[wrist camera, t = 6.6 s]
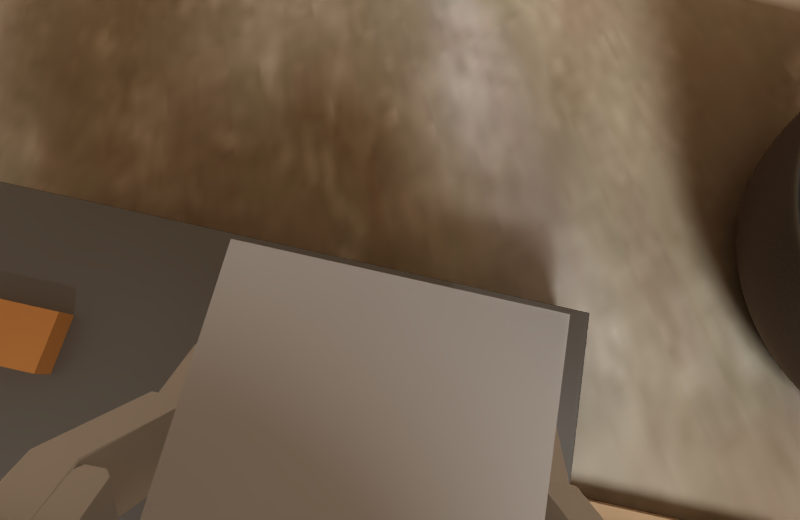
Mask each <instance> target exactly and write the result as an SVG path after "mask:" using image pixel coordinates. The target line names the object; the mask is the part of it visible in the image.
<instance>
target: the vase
mask: <svg viewBox="0 0 800 520" xmlns="http://www.w3.org/2000/svg"><path fill="white" fill-rule="evenodd" d="M736 260H737V268H738V274H739V279H740V284H741V288H742V292H743V295H744V299H745V302H746V304H747V307H748V310H749V313H750V315H751V317H752V320H753V322H754V324H755V327H756V328H757V330H758V332H759V334H760V336H761V338H762V340H763V342H764V343H765V345H766V347H767V348H768V350H769V352H770V353H771V355H772V356H773V358H774V359H775V360H776V362H777V363H778V365H779V366H780V368H781V369H782V370H783V371H784V373H785V374H786V375H787V376H788V378H789V379H790V380H791V381H792V382H793V383H794V384H795V386H796V387H797V388H798V389H799V390H800V113H799V114H798V115H797V116H796V117H795V118H794V119H793V120H792V121H791V122H790V123H789V124H788V125H787V126H786V127H785V128H784V129H783V131H782V132H781V133H780V134H779V135H778V137H777V138H776V139H775V140H774V142H773V143H772V145H771V146H770V147H769V149H768V150H767V151H766V153H765V154H764V156H763V157H762V159H761V160H760V162H759V164H758V166H757V168H756V169H755V171H754V173H753V175H752V177H751V179H750V181H749V183H748V186H747V188H746V191H745V193H744V197H743V200H742V203H741V207H740V212H739V216H738V222H737V230H736Z"/></svg>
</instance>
